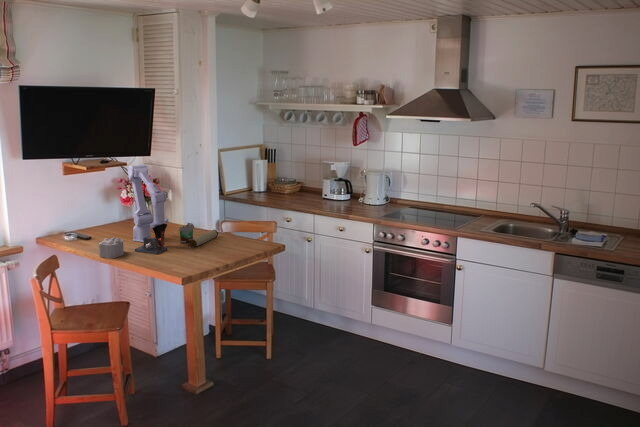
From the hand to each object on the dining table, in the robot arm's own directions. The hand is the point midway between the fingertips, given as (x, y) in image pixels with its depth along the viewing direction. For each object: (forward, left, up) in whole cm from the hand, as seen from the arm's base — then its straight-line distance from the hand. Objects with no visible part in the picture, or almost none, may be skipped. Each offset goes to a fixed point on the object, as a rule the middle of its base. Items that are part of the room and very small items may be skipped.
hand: (159, 237), depth 336 cm
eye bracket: (0, -8, -5) cm, 10 cm away
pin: (0, -5, -4) cm, 7 cm away
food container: (+9, +16, -6) cm, 19 cm away
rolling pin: (+17, +19, -6) cm, 26 cm away
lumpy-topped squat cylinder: (-14, -23, -6) cm, 27 cm away
